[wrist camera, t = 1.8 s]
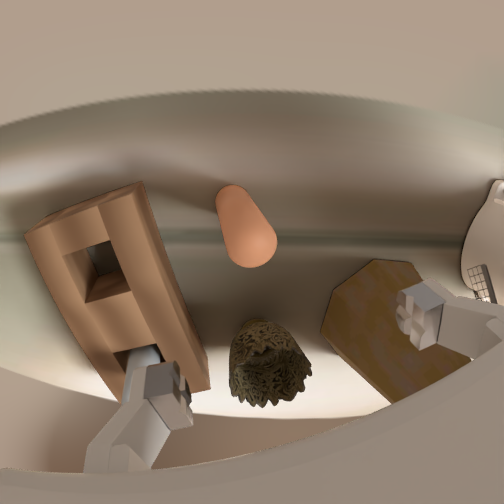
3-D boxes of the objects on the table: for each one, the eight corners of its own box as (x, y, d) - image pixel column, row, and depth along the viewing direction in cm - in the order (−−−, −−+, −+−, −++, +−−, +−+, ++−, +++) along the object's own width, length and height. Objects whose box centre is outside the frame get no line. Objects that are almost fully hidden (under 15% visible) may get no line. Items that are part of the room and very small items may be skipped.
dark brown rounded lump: (231, 294, 31) (243, 346, 24) (299, 305, 33) (325, 354, 26) (213, 351, 34) (221, 405, 27) (276, 358, 36) (294, 409, 29)
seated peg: (156, 319, 31) (147, 391, 22) (166, 341, 32) (162, 413, 23) (129, 325, 31) (114, 397, 22) (141, 347, 32) (131, 418, 23)
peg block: (142, 181, 26) (131, 194, 21) (207, 356, 34) (210, 389, 30) (47, 216, 25) (23, 234, 20) (127, 374, 33) (122, 406, 29)
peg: (245, 181, 27) (271, 213, 18) (252, 213, 28) (281, 259, 19) (211, 190, 27) (220, 227, 18) (220, 222, 28) (233, 273, 19)
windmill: (414, 351, 41) (528, 504, 14) (326, 388, 40) (416, 580, 13) (422, 213, 32) (647, 375, 5) (307, 248, 31) (522, 547, 4)
